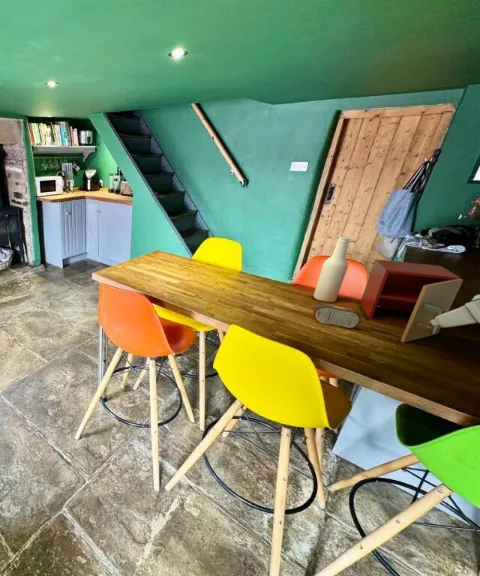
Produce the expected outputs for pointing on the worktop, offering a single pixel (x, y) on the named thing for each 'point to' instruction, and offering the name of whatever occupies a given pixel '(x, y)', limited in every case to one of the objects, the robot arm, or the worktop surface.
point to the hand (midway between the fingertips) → (434, 321)
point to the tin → (336, 315)
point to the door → (430, 309)
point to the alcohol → (333, 273)
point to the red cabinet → (399, 285)
